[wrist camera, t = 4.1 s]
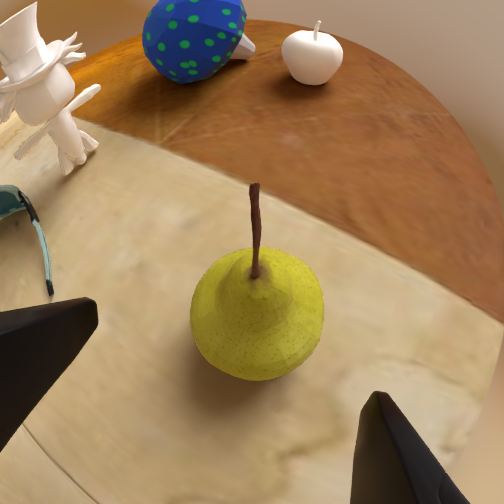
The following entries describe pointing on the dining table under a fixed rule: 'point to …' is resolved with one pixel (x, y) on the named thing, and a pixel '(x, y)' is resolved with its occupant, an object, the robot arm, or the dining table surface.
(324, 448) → the dining table surface
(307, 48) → the plain white apple
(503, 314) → the dining table surface
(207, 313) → the fruit
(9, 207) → the sunglasses
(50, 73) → the figurine
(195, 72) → the polka dot ball
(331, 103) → the dining table surface
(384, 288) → the dining table surface
